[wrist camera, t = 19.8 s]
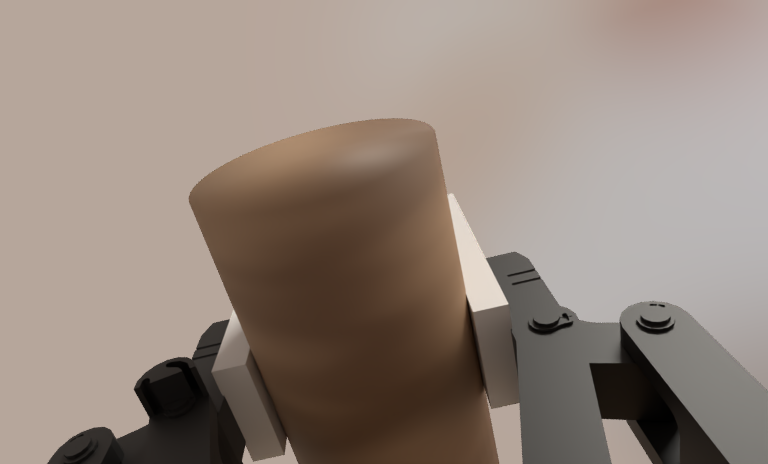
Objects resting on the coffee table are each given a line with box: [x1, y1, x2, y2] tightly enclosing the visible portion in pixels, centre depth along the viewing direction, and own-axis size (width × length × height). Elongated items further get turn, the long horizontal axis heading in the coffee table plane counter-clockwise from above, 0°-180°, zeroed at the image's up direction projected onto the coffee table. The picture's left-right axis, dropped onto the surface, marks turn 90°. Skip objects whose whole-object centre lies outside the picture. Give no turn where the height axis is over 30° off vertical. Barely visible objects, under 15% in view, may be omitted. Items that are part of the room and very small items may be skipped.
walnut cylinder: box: [189, 118, 499, 464], centre depth 13 cm, size 5×5×11 cm
